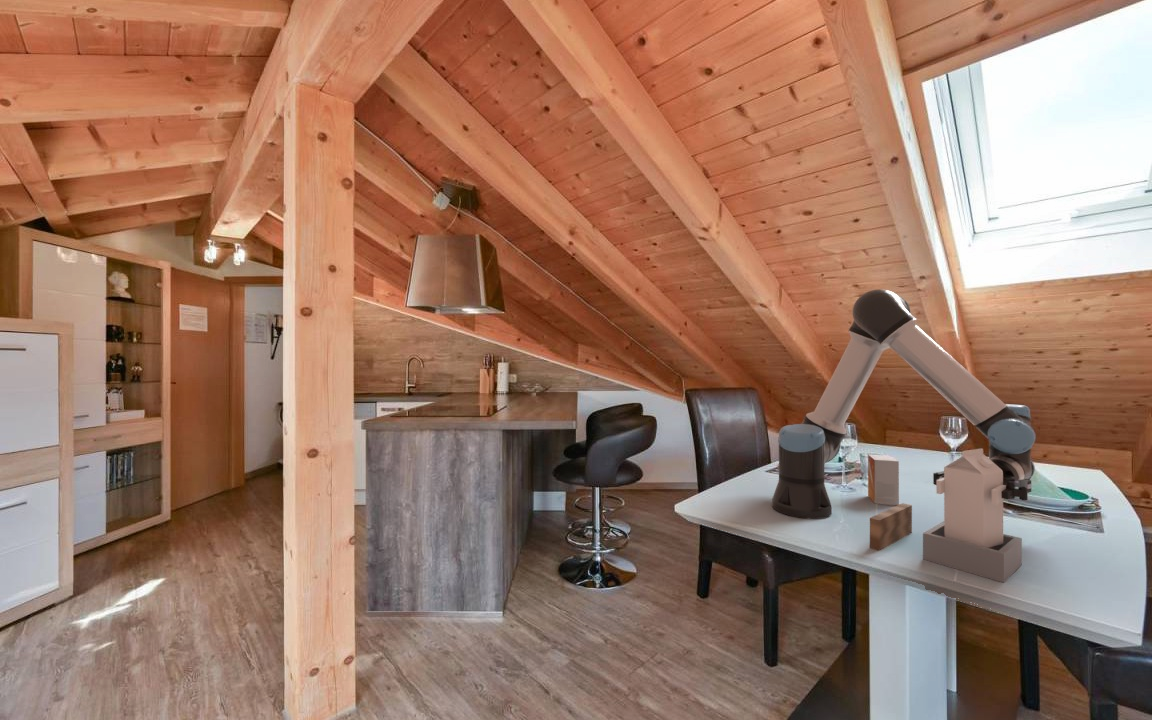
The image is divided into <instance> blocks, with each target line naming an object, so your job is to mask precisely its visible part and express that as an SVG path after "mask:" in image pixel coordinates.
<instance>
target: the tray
mask: <svg viewBox="0 0 1152 720" xmlns="http://www.w3.org/2000/svg"><path fill="white" fill-rule="evenodd" d="M1022 539H1023V538H1022V537H1019V536H1018V537H1017V536H1014V535H1008V534H1005V533H1003V544H1000V545H996V546H993V547H990V548H986V547H982V546H978V545H974V544H970V543H966V542H962V541H958V540H954V539H950V538H946V537H945V535H944V520H943V521H942V522H940V523H939V524H937V525H935V526H933V527H931V528H929V529H928V530H926V531H924V532H923V533H922V559H923V560H925V561H929V562H931V563H935V564H939V565H942V566H945V567H949V568H953V569H956V570H959V571H963V572H966V573H970V574H973V575H976V576H981V577H982V578H987V579H989V580H994V581H996V582H1000V583H1003V584H1004V583H1005V582H1006V581H1007V580H1009V578H1010V577H1011V576H1012V575H1013V574H1014V573H1015V572H1016V571H1017V570H1018V569H1019V568H1020V567H1021V566H1022V563H1023V562H1022V560H1023V559H1022V557H1023V555H1022V551H1023V548H1022V547H1023V544H1022V543H1023V542H1022V541H1023V540H1022Z"/></svg>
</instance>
